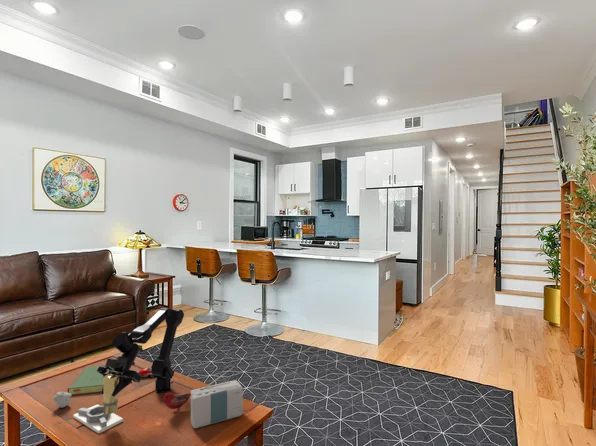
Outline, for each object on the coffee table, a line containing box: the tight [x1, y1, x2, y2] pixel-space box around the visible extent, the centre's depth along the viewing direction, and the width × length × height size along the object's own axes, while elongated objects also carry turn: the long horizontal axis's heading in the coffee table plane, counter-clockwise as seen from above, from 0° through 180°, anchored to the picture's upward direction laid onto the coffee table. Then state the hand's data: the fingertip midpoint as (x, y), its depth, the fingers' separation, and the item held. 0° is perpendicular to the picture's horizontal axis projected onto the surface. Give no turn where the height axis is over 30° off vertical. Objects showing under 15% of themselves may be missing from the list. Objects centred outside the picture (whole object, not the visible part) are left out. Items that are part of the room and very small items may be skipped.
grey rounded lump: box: [53, 391, 72, 409], centre depth 158 cm, size 6×7×7 cm
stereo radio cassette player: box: [190, 365, 244, 429], centre depth 149 cm, size 21×8×20 cm, turn 119°
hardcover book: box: [67, 365, 119, 395], centre depth 182 cm, size 25×19×4 cm
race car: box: [135, 367, 154, 379], centre depth 189 cm, size 13×5×4 cm, turn 98°
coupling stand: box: [73, 403, 124, 434], centre depth 149 cm, size 10×20×4 cm, turn 57°
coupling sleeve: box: [102, 374, 119, 414], centre depth 144 cm, size 5×5×14 cm
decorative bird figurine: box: [161, 392, 191, 414], centre depth 156 cm, size 3×18×10 cm, turn 139°
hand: (107, 395), depth 142 cm, fingers closed on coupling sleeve, 5 cm apart
